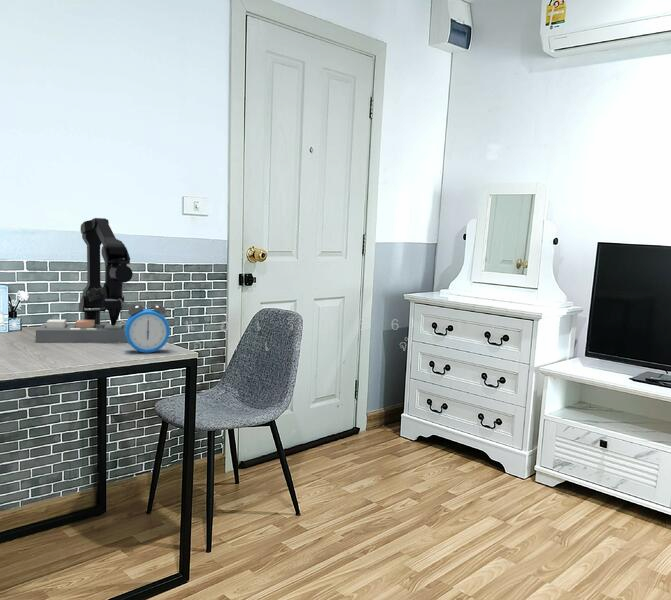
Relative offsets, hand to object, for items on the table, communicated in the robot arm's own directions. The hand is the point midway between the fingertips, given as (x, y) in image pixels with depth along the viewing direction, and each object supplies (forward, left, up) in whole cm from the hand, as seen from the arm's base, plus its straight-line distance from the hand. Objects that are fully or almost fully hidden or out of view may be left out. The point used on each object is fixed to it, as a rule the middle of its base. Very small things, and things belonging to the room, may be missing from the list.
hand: (113, 325), depth 212 cm
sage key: (0, 0, -3) cm, 4 cm away
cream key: (0, -18, -2) cm, 18 cm away
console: (+2, -9, -4) cm, 10 cm away
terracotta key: (0, -9, -2) cm, 9 cm away
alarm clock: (+24, +12, -5) cm, 27 cm away
